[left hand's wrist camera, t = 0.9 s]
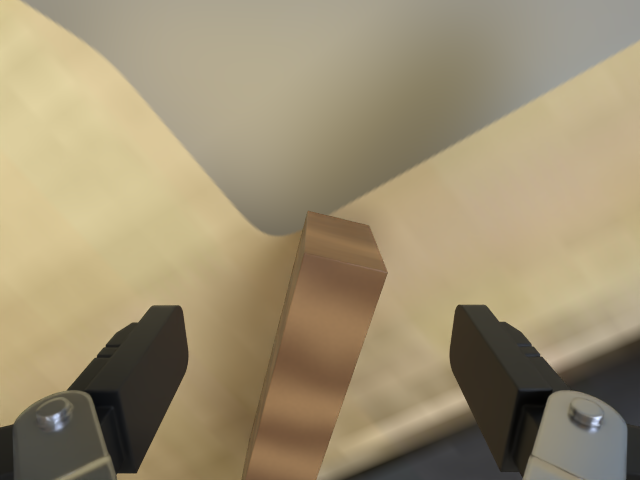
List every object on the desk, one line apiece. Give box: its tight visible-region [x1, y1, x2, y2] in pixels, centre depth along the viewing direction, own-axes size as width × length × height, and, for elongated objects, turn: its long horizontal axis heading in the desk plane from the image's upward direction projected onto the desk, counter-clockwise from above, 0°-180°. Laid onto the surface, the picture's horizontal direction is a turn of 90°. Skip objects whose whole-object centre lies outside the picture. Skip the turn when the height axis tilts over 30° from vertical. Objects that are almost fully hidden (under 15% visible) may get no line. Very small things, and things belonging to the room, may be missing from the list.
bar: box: [242, 211, 388, 480], centre depth 30 cm, size 24×5×8 cm, turn 166°
